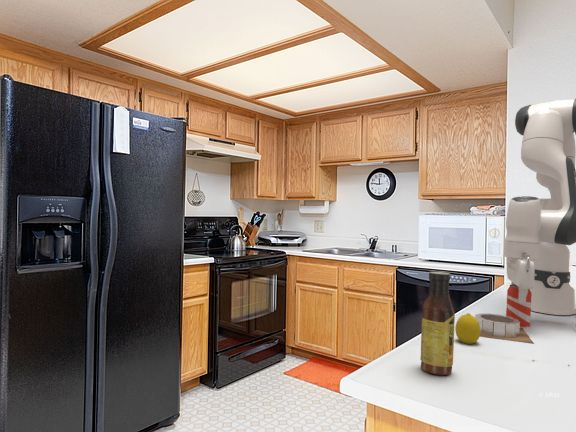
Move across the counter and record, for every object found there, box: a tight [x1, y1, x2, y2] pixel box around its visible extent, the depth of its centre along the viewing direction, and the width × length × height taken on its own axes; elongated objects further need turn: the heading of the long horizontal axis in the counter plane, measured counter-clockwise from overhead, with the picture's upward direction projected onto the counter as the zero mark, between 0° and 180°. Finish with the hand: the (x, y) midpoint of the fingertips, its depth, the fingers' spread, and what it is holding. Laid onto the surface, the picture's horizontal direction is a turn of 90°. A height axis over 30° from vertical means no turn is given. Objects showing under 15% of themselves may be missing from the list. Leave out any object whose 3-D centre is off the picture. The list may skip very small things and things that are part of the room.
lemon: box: [454, 313, 481, 345], centre depth 99 cm, size 6×6×8 cm
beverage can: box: [505, 284, 532, 328], centre depth 118 cm, size 6×6×12 cm
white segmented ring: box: [474, 312, 521, 337], centre depth 109 cm, size 10×10×4 cm
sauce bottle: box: [420, 271, 456, 376], centre depth 83 cm, size 7×6×20 cm
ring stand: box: [479, 327, 535, 345], centre depth 109 cm, size 15×15×1 cm
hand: (518, 299), depth 118 cm, fingers open, 8 cm apart
